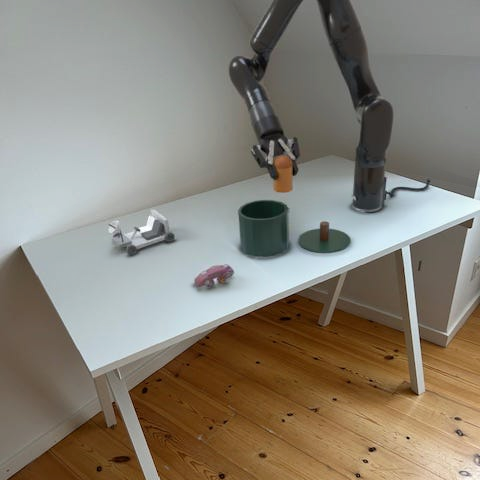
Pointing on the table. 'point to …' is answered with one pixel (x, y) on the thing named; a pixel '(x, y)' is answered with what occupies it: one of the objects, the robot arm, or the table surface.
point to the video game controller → (214, 275)
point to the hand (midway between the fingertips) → (286, 176)
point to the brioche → (283, 174)
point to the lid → (324, 239)
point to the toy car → (142, 233)
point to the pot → (264, 228)
